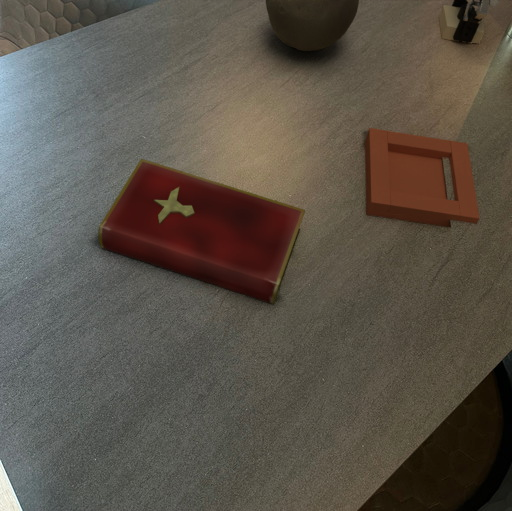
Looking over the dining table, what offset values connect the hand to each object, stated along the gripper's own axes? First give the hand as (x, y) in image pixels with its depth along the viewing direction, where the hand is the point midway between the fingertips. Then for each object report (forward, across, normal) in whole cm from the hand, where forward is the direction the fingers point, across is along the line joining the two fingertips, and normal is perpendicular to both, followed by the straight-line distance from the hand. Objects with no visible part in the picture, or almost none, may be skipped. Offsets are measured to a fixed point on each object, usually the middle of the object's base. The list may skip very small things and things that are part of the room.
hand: (459, 27), depth 109 cm
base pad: (+1, -39, +10) cm, 40 cm away
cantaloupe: (+1, -12, +27) cm, 30 cm away
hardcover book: (+1, -54, +37) cm, 65 cm away
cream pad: (+1, 0, 0) cm, 1 cm away
